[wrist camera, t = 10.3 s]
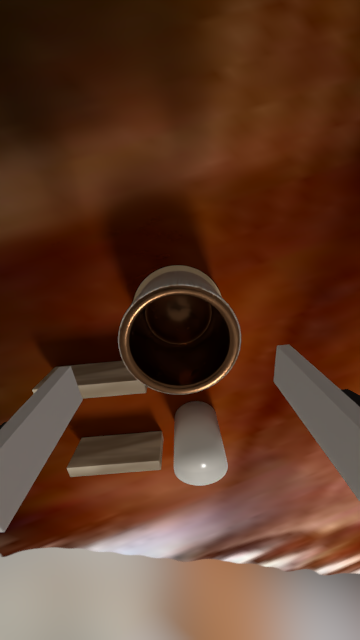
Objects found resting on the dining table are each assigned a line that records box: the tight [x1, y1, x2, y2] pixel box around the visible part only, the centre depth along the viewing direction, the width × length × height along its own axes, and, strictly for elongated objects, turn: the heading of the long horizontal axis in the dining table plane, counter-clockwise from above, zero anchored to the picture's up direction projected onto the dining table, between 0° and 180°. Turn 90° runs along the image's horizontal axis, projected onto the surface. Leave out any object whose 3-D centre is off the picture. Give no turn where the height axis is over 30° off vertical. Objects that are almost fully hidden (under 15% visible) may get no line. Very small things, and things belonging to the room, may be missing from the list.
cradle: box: [32, 361, 163, 477], centre depth 29 cm, size 16×14×5 cm
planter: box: [118, 271, 241, 395], centre depth 21 cm, size 11×11×10 cm
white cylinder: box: [174, 401, 228, 486], centre depth 29 cm, size 7×7×8 cm
